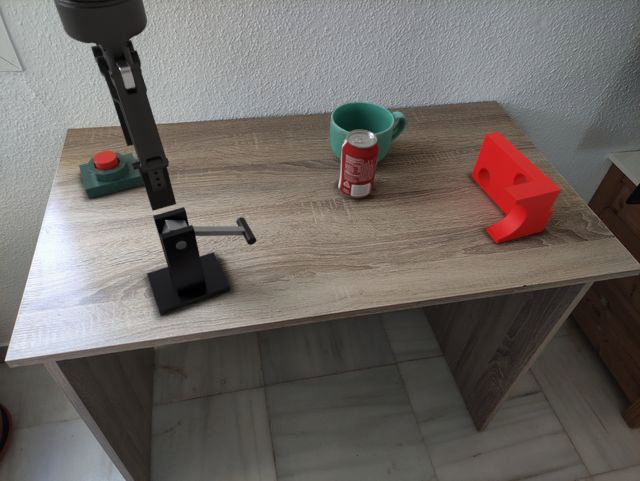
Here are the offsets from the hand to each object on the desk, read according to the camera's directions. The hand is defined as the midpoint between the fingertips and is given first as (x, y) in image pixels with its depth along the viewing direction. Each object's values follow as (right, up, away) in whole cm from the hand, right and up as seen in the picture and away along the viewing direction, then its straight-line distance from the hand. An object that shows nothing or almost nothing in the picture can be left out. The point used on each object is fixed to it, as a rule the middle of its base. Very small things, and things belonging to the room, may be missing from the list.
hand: (149, 171), depth 58 cm
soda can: (+28, +1, +35) cm, 45 cm away
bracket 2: (+54, -2, +33) cm, 64 cm away
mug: (+31, +10, +43) cm, 54 cm away
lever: (+4, -8, +12) cm, 15 cm away
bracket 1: (0, -15, +17) cm, 23 cm away
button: (-19, +6, +31) cm, 37 cm away
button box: (-19, +3, +33) cm, 39 cm away
